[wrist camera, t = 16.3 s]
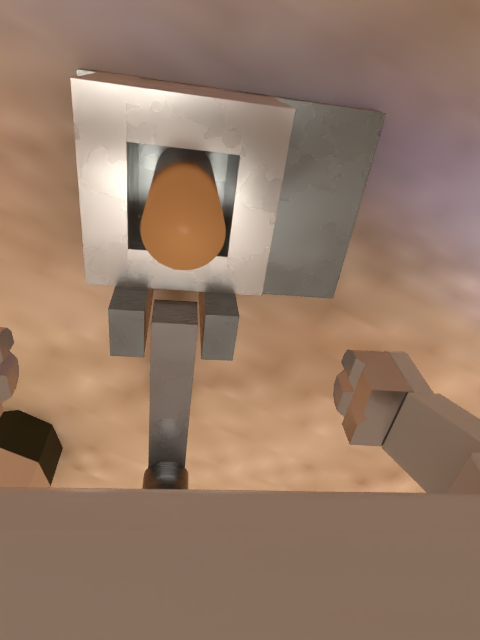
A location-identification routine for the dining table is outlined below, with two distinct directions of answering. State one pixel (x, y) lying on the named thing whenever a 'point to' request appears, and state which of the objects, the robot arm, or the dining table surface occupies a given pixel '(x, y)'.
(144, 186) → the mount
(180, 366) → the crank handle
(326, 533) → the robot arm
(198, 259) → the orange rounded cylinder
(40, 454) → the wine bottle
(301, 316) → the dining table surface
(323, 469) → the dining table surface
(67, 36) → the dining table surface
